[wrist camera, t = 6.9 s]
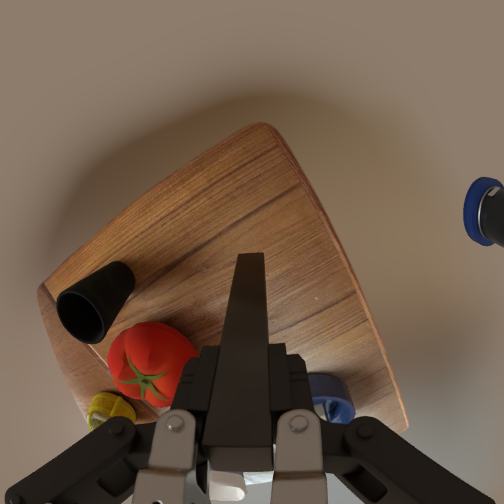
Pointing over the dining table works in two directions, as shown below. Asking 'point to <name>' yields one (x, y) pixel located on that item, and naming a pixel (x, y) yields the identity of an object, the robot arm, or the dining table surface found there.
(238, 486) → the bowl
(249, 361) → the stick
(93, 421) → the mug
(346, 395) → the bowl
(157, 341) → the tomato
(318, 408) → the block
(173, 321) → the dining table surface
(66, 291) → the cup
